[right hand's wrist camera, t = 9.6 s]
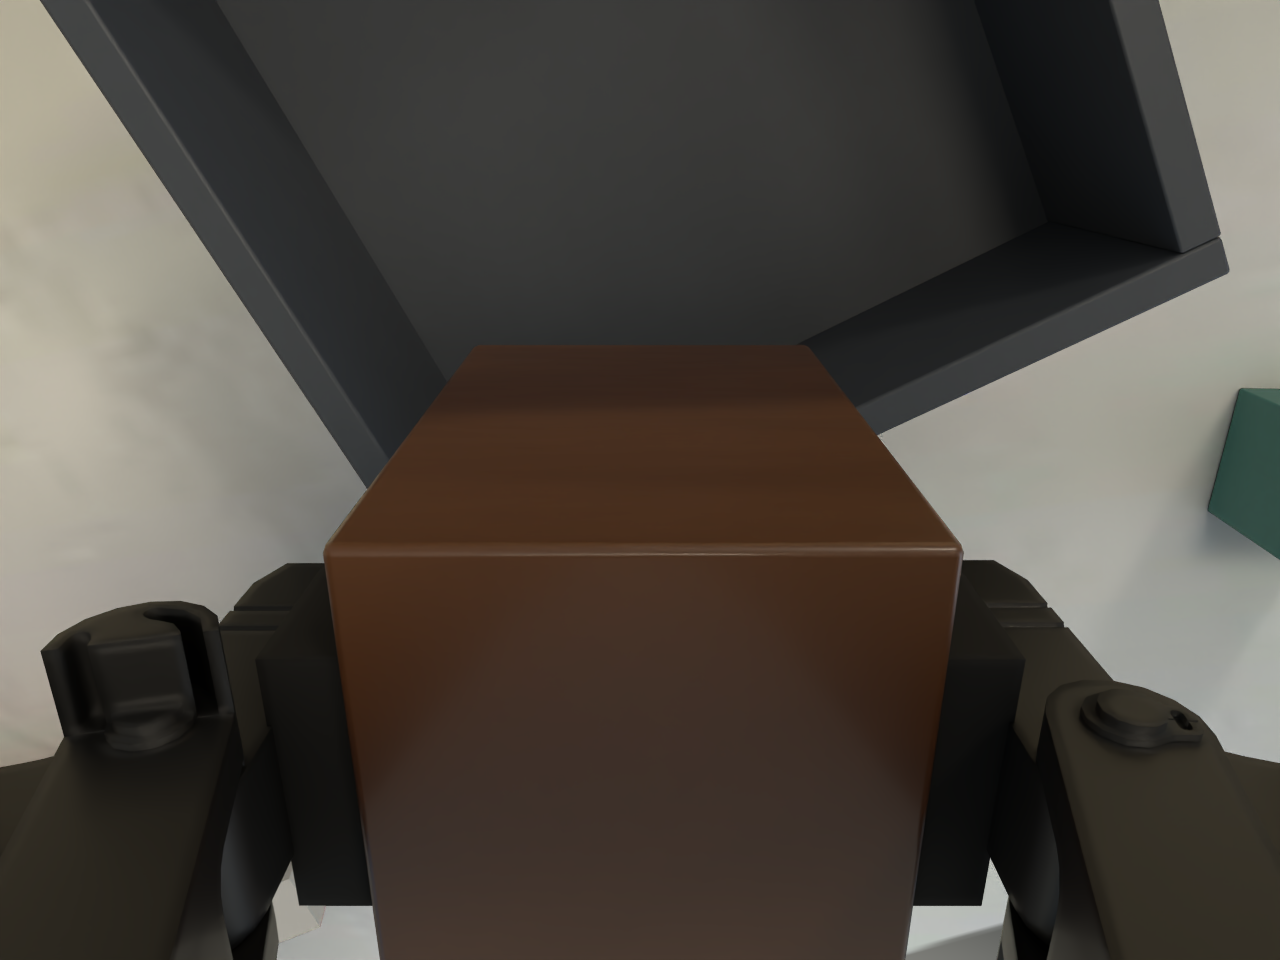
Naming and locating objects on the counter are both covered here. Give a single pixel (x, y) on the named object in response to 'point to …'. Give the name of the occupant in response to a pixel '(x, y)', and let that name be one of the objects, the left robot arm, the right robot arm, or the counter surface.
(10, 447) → the counter surface
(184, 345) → the counter surface
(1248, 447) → the teal block
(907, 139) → the box
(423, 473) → the walnut block
